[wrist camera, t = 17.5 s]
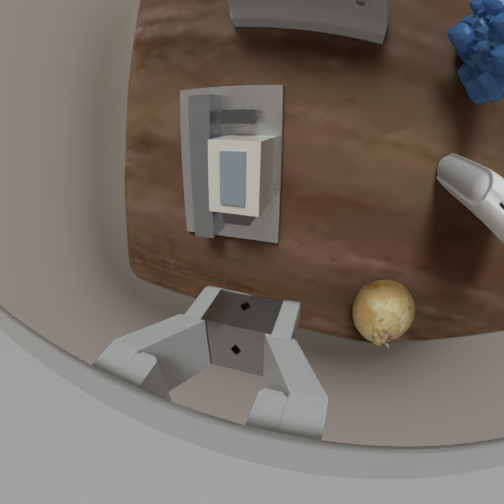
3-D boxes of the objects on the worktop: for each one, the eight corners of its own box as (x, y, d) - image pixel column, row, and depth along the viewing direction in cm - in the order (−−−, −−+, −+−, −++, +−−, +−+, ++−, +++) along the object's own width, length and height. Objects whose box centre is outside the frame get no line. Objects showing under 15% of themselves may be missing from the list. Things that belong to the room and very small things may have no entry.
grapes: (427, 2, 16) (461, -43, 6) (479, 22, 15) (529, -6, 4) (427, 92, 22) (474, 83, 12) (480, 111, 20) (541, 117, 10)
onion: (342, 284, 35) (340, 320, 29) (400, 260, 31) (409, 294, 25) (365, 328, 37) (364, 366, 31) (417, 308, 33) (426, 345, 27)
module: (276, 136, 28) (260, 141, 23) (273, 199, 32) (257, 218, 26) (231, 134, 30) (206, 140, 24) (231, 194, 33) (208, 212, 28)
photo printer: (504, 198, 23) (560, 242, 13) (487, 226, 25) (535, 279, 15) (447, 145, 24) (502, 166, 13) (429, 177, 26) (473, 214, 15)
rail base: (284, 86, 26) (276, 82, 23) (279, 240, 35) (271, 254, 31) (183, 90, 29) (165, 89, 26) (190, 228, 38) (175, 240, 34)
